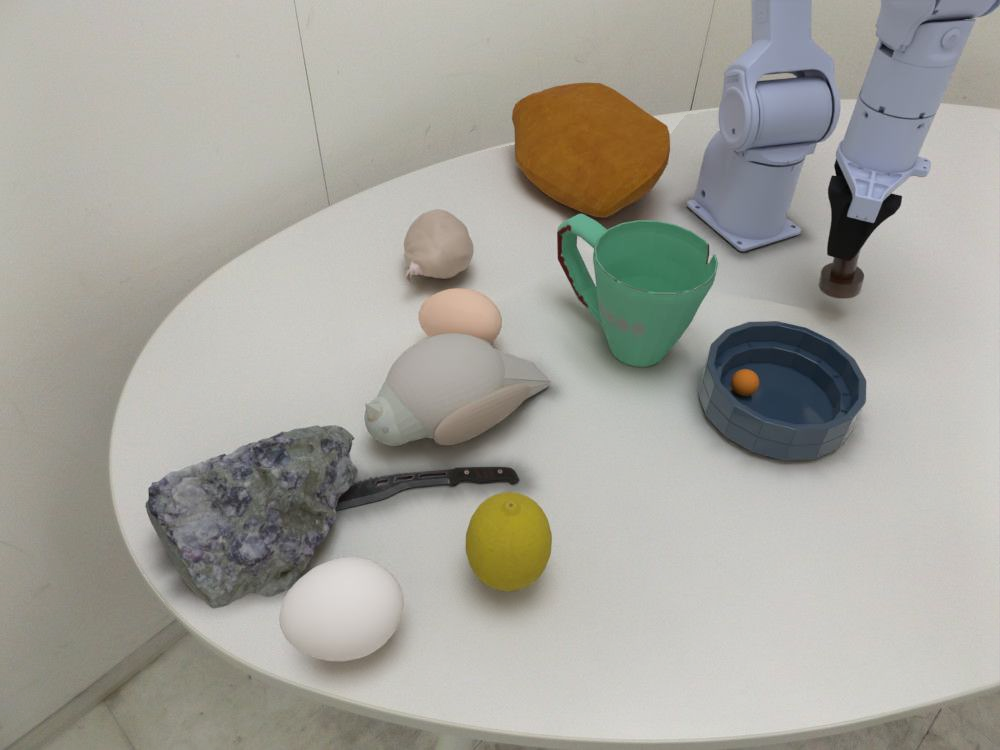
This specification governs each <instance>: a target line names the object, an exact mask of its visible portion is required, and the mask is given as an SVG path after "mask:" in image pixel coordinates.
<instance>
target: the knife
mask: <svg viewBox="0 0 1000 750" xmlns="http://www.w3.org/2000/svg"><path fill="white" fill-rule="evenodd" d="M407 478H408V479H407ZM399 479H402V480H399ZM386 481H387V482H386ZM519 481H520V477H519V476H518V474H517V472H516V470H515V469H514V468H512V467H508V466H467V467H466V466H464V467H463V466H462V467H454V468H447V469H437V470H425V471H412V472H401V473H392V474H385V475H380V476H374V477H369V478H365V479H363V480H361V479H360V480H358V481H357V482H353V484H352V485H351V486H350V487H349V489H348V490H347V491H345V493H344V494H342V495H341V496H340V497H339V499H338V502H337V505H336V509H335V510H336V512H337V511H340V510H345V509H349V508H352V507H357V506H360V505H365V504H368V503H373V502H376V501H380V500H384V499H387V498H390V497H391V496H392V495H393V496H394V495H395V494H396V493H398V492H401V491H403V490H406V489H409V488H415V487H416V488H417V487H425V486H434V485H449V486H451V487H452V486H457V485H458V484H459V483H462V482H471V483H476V484H485V483H486V484H487V483H497V482H509V483H510V484H512V485H514V484H516V483H519ZM382 482H385V483H382ZM378 483H382V484H378Z"/></svg>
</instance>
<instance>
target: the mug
mask: <svg viewBox="0 0 1000 750" xmlns="http://www.w3.org/2000/svg"><path fill="white" fill-rule="evenodd" d="M578 237H579V238H581V239H582V240H583V241H585V242H586V243H587V244H588V245H589V246H590V247H591V248H593V252H592V261H593V270H594V278H595V283H594V280H593V278H592V276H591V273H590V272H589V270H588V267H587V265H586V262H585V261H584V259H583V257H582V255H581V253H580V252H581V251H579V248H578ZM556 242H557V243H556V244H557V246H556V247H557V249H556V250H557V261H558V263H559V265H560V266H561V268H562V270H563V272H564V275H565V276H566V279H567V281H568V282H569V285H570V286H571V289H572V290H573V292H574V294H575V296H576V298H577V299H578V301H579V302H580V303H581V304H582V305H583V306H584V307H585V308H586V310H587V311H588V312H589V313H590V314H591V315H592V316H593V317H594V318H595V320H596V321H597V322H598V323H599V324H600V325H601V326H602V329H603V332H604V335H605V338H606V341H607V344H608V347H609V350H610V352H611V354H612V356H614V358H616V359H617V361H619V362H621V363H623V364H625V365H627V366H631V367H634V368H635V367H636V368H647V367H651V366H652V367H653V366H654V365H656V364H659V363H660V361H662V360H663V358H665V356H666V355H667V354H668V353H669V352H670V351H671V349H673V348H674V346H675V345H676V344H677V343H678V341H679V340H680V338H681V337H682V336H683V334H684V333H685V332H686V330H687V329H688V327H689V326H690V325H691V323H692V322H693V320H694V318H695V316H696V314H697V312H698V310H699V308H700V306H701V304H702V302H703V301H704V299H705V298H706V296H707V295H708V293H709V292H710V290H711V288H712V286H713V285H714V282H715V279H716V277H717V272H718V267H719V260H718V258H717V256H716V254H713V255H712V257H711V258H710V260H709V257H710V244H709V243H708V241H707V240H706V239H704V238H703V237H702V236H700V235H699V234H697V233H695V232H694V231H692V230H691V229H688V228H685V227H683V226H680V225H678V224H674V223H670V222H666V221H661V220H647V219H646V220H645V219H644V220H642V219H641V220H639V219H638V220H633V221H626V222H621V223H618V224H616V225H614V226H611V227H609V228H608V229H607V228H606V227H605V226H603V225H602V224H601V223H600V222H598V221H597V220H595V219H593V218H591V216H589V215H587V214H585V213H577V214H576V215H574V216H572V217H570V218H567V219H565V221H563V222H561V223H560V224H559V226H558V227H557V230H556Z"/></svg>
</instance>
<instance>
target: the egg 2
mask: <svg viewBox="0 0 1000 750" xmlns="http://www.w3.org/2000/svg"><path fill="white" fill-rule="evenodd" d="M418 321H419V322H418V323H419V325H420V328H421V330H422V332H424V333H425V334H426V336H427V337H428V338H429V337H432V336H436V335H440V334H449V333H459V334H466V335H470V336H474V337H477V338H480V339H483V340H486V341H488V342H489V343H491V344H492V343H493V342H494V341H495V340H496V339H497V337H498V336H499V335H500V333H501V330H502V327H503V325H502V324H503V317H502V314H501V312H500V309H499V308H498V306H497V305H496V303H494V301H493V300H492V299H491V298H490V297H488V296H487V295H486V294H484V293H481V292H480V291H478V290H474V289H469V288H462V287H457V288H456V287H455V288H448V289H444V290H441V291H438V292H436V293H434V294H432V295H430V296H429V297H427V298H426V299H425V300H424V302H422V304H421V305H420V308H419V311H418Z"/></svg>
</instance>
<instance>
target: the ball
mask: <svg viewBox="0 0 1000 750" xmlns="http://www.w3.org/2000/svg"><path fill="white" fill-rule="evenodd" d="M731 385H732V388H733V390H734V391H735V392H736V393H737V394H739V395H741V396H749V395H752V394H753V393H755V392H756V391H757V389H758V387H759V378H758V376H757V375H756V373H754V372H753V371H751V370H748V369H742V370H739V371H737V372H736V373H735V374H734V375H733V377H732V380H731Z"/></svg>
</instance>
